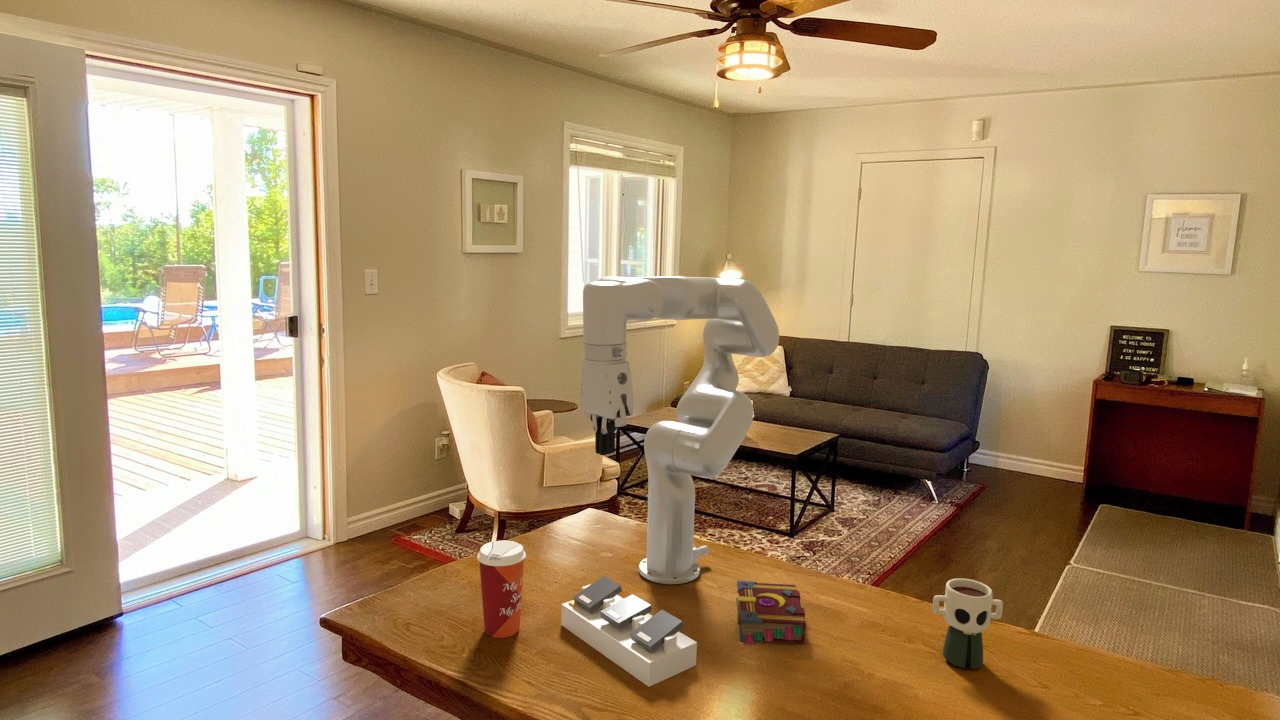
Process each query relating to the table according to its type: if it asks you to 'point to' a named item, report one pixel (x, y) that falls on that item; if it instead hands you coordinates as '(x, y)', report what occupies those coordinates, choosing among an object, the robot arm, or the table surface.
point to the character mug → (966, 619)
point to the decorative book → (769, 613)
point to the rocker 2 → (656, 630)
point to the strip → (629, 643)
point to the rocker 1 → (597, 594)
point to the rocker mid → (625, 611)
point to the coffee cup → (501, 586)
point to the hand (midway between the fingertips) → (605, 452)
